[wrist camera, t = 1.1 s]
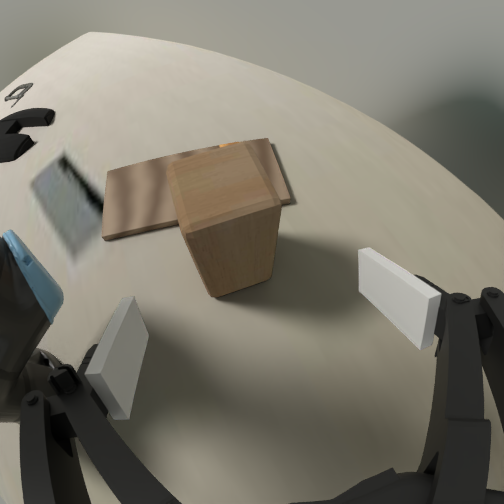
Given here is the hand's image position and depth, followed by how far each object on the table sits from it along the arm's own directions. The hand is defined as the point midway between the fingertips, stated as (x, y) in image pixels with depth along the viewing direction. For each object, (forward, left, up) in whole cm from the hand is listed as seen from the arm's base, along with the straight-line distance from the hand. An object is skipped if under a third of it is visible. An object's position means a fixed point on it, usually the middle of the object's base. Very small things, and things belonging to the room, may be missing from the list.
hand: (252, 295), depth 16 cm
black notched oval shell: (-68, +77, -27) cm, 107 cm away
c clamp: (-85, +117, -27) cm, 148 cm away
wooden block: (0, +14, -27) cm, 30 cm away
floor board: (-5, +31, -27) cm, 41 cm away
